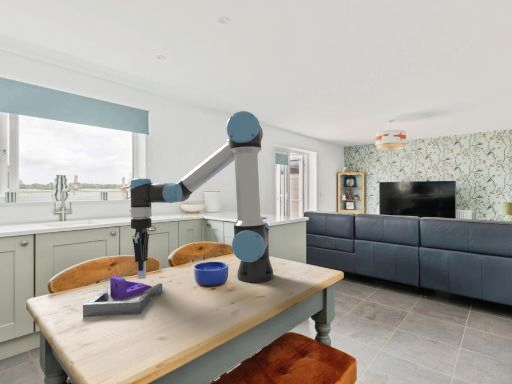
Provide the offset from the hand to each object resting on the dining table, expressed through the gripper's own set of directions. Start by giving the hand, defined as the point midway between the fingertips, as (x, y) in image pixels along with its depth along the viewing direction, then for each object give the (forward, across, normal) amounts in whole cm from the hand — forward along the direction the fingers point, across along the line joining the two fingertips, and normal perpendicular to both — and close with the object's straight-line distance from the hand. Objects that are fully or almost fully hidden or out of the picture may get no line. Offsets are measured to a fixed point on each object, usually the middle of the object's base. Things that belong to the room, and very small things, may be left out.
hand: (141, 278), depth 109 cm
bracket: (+3, +9, 0) cm, 10 cm away
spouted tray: (+2, +18, 0) cm, 18 cm away
